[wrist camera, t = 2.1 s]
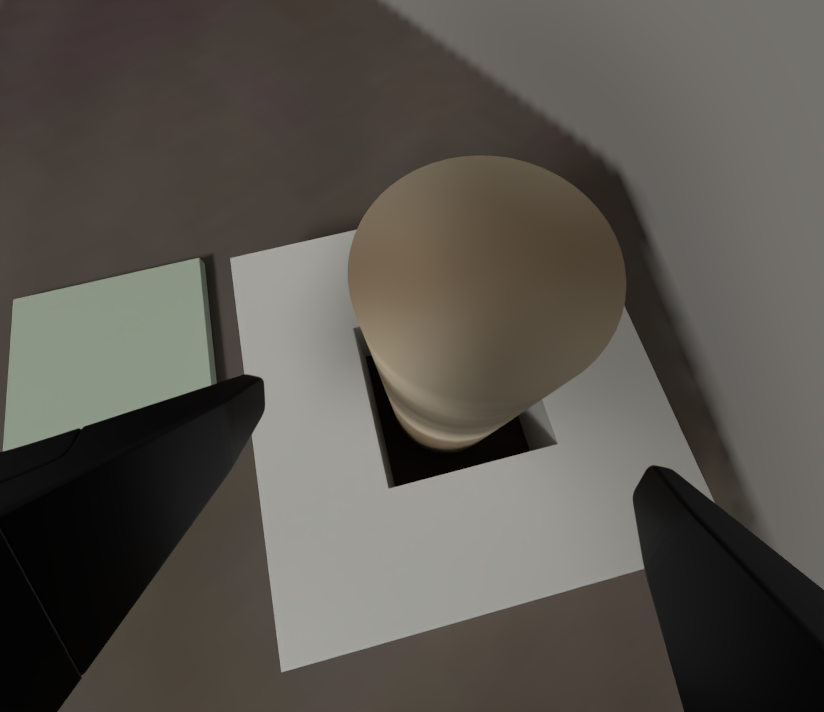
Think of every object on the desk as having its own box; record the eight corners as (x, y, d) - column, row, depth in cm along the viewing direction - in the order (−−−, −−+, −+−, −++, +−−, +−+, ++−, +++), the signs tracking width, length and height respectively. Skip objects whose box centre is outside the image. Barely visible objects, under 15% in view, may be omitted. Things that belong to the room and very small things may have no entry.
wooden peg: (508, 439, 19) (675, 360, 6) (407, 465, 19) (381, 435, 6) (477, 344, 20) (566, 133, 8) (384, 367, 20) (325, 185, 8)
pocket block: (665, 529, 17) (733, 543, 14) (313, 628, 17) (281, 672, 13) (542, 232, 22) (567, 181, 18) (264, 297, 21) (230, 258, 18)
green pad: (222, 437, 19) (216, 436, 19) (13, 490, 19) (0, 490, 18) (204, 263, 22) (198, 257, 22) (24, 304, 22) (13, 299, 21)
